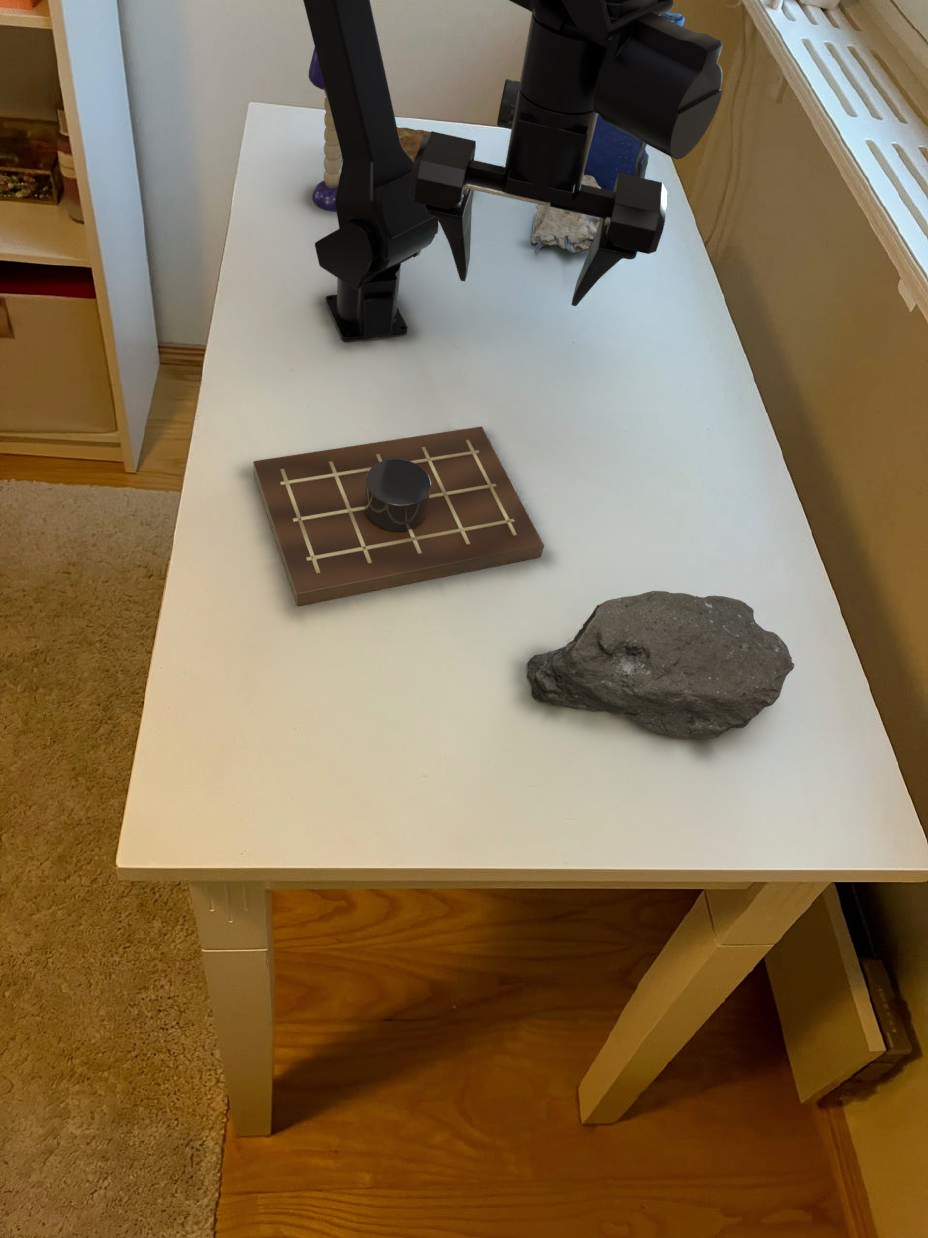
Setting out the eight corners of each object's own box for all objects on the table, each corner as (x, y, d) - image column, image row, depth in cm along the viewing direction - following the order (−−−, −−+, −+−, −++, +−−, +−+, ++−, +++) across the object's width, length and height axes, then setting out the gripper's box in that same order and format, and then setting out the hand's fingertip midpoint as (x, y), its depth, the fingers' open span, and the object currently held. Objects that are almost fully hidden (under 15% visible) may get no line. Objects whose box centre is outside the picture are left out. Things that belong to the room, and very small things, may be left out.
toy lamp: (349, 216, 102) (356, 50, 89) (305, 210, 102) (305, 42, 89) (353, 192, 105) (361, 28, 92) (311, 186, 105) (312, 20, 91)
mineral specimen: (536, 192, 110) (544, 157, 107) (608, 206, 111) (617, 171, 107) (527, 264, 101) (535, 228, 98) (605, 279, 102) (615, 243, 98)
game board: (253, 473, 78) (252, 459, 77) (479, 438, 85) (482, 424, 83) (297, 606, 71) (297, 593, 70) (541, 557, 77) (545, 544, 76)
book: (640, 198, 112) (696, 10, 96) (630, 220, 109) (687, 30, 93) (524, 162, 114) (561, -29, 98) (511, 182, 110) (547, -12, 94)
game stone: (357, 489, 77) (359, 462, 74) (417, 481, 78) (421, 454, 76) (372, 535, 74) (375, 509, 72) (434, 526, 75) (439, 500, 73)
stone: (548, 752, 64) (568, 610, 61) (516, 698, 72) (532, 569, 69) (795, 751, 68) (827, 618, 64) (739, 700, 76) (764, 579, 73)
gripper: (695, 72, 71) (636, 260, 83) (447, 16, 70) (425, 213, 83) (692, 144, 64) (628, 338, 76) (417, 83, 64) (398, 287, 76)
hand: (518, 290), depth 78 cm, fingers open, 9 cm apart
